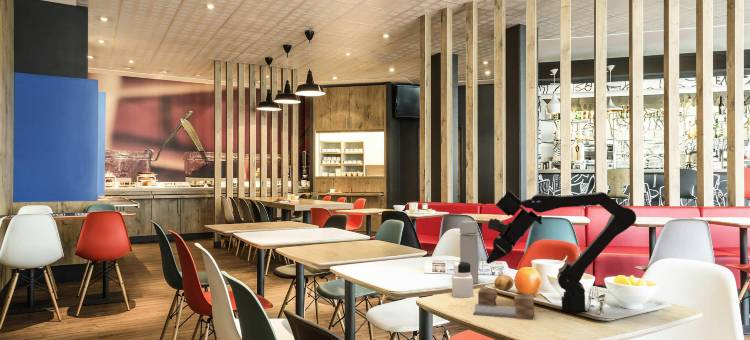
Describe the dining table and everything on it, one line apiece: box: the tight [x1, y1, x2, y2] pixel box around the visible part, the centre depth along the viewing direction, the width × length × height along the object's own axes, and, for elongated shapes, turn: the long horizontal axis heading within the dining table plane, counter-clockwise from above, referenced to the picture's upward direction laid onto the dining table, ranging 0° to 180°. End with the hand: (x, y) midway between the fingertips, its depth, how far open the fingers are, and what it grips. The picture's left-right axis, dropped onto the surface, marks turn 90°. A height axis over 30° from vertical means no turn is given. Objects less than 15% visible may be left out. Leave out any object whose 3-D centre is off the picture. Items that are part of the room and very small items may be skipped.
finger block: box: [477, 287, 498, 306], centre depth 169 cm, size 5×6×6 cm
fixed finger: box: [513, 293, 535, 321], centre depth 157 cm, size 5×6×6 cm
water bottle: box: [459, 220, 484, 285], centre depth 209 cm, size 9×8×25 cm
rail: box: [472, 303, 535, 321], centre depth 159 cm, size 18×6×3 cm, turn 70°
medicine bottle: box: [451, 261, 474, 298], centre depth 188 cm, size 7×7×12 cm
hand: (488, 260), depth 170 cm, fingers open, 9 cm apart
